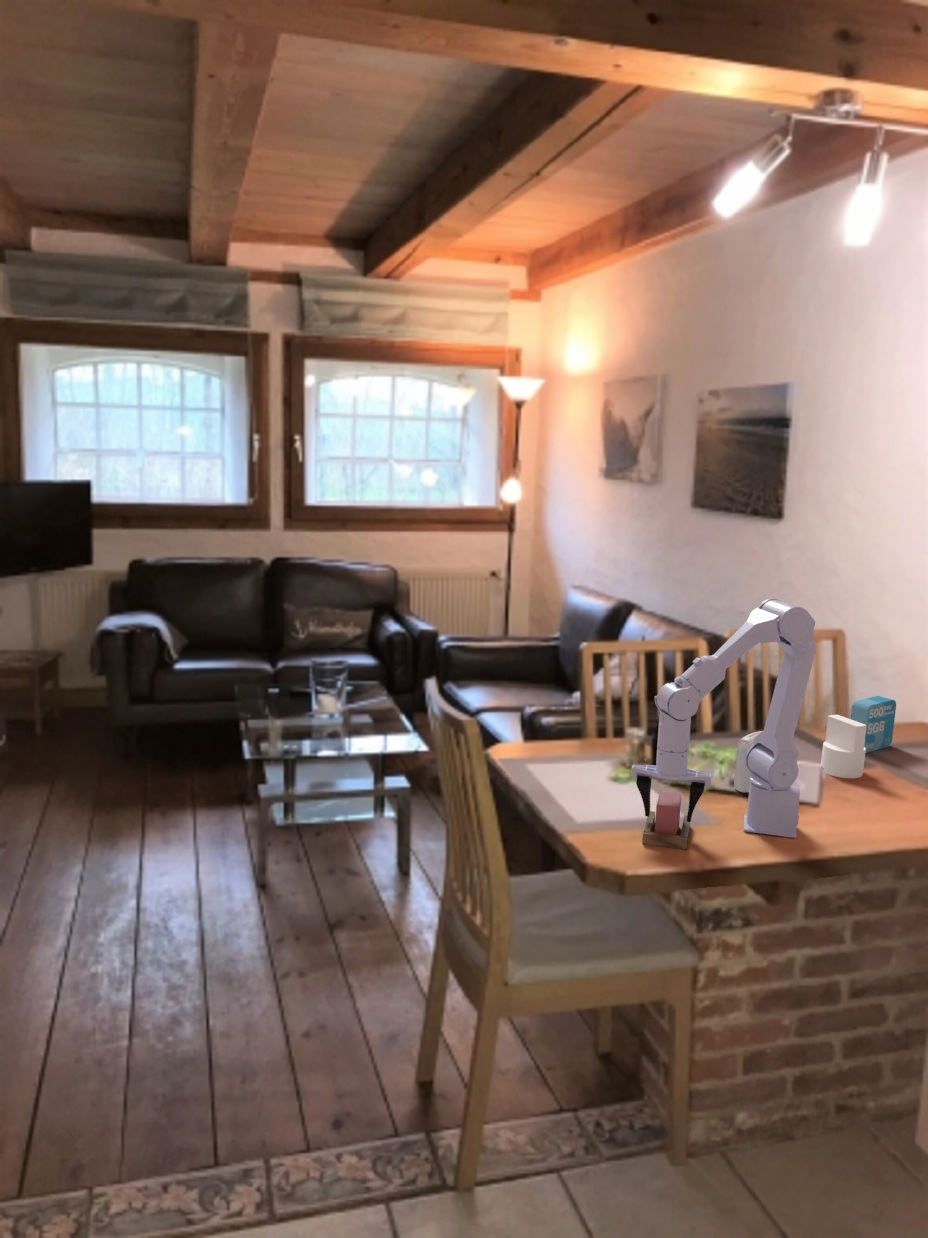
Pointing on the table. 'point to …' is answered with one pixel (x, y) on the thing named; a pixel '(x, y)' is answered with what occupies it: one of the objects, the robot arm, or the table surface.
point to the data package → (875, 720)
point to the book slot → (665, 835)
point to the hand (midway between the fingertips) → (668, 817)
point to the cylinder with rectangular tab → (844, 747)
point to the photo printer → (743, 763)
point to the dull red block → (668, 812)
